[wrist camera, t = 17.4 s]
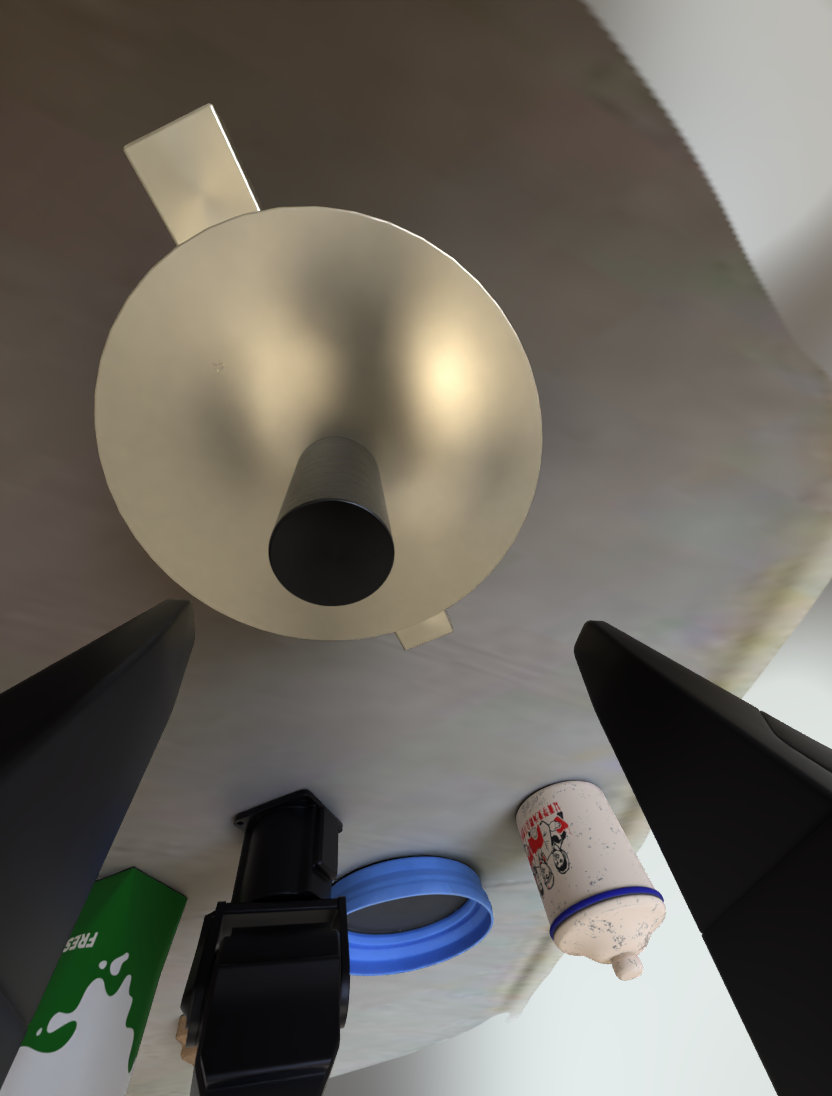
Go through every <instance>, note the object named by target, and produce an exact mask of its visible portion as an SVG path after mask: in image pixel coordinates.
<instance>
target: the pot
mask: <svg viewBox="0 0 832 1096" xmlns="http://www.w3.org/2000/svg"><path fill="white" fill-rule="evenodd" d="M123 150H124V153H125V155H126V157H127V159H128V160H129V162H130V164H131V166H132V168H133V169H134V171H135V173H136V175H137V176H138V178H139V180H140V182H141V183H142V185H143V187H144V189H145V191H146V192H147V194H148V196H149V198H150V199H151V201H152V203H153V205H154V207H155V208H156V210H157V212H158V214H159V215H160V217H161V219H162V221H163V222H164V224H165V226H166V228H167V230H168V231H169V233H170V235H171V237H172V238H173V240H174V242H175V244H176V246H178V245H179V244H181V243H183V242H184V241H186V240H188V239H189V238H191V237H193V236H194V235H196V234H198V233H199V232H201V231H203V230H204V229H206V228H208V227H210V226H213V225H215V224H218V223H221V222H223V221H226V220H228V219H231V218H234V217H236V216H239V215H241V214H245V213H251V212H256V211H261V210H264V209H263V207H262V205H261V203H260V200H259V198H258V196H257V194H256V192H255V189H254V187H253V185H252V183H251V181H250V178H249V176H248V174H247V172H246V170H245V167H244V165H243V163H242V161H241V159H240V156H239V154H238V152H237V150H236V148H235V145H234V143H233V141H232V139H231V137H230V134H229V132H228V130H227V128H226V126H225V123H224V121H223V120H222V118H221V117H220V115H219V113H218V112H217V110H216V109H215V107H214V106H213V105H212V104H209V103H208V104H206V105H204V106H202V107H200V108H198V109H196V110H194V111H192V112H190V113H188V114H186V115H184V116H182V117H180V118H178V119H176V120H174V121H172V122H170V123H169V124H167V125H165V126H163V127H161V128H159V129H157V130H155V131H153V132H151V133H149V134H147V135H145V136H143V137H141V138H139V139H137V140H135V141H133V142H131V143H129V144H127V145H125V146H124V147H123ZM451 632H453V627H452V624H451V621H450V618H449V616H448V613H447V611H446V610H444V611H442V612H441V613H439V614H437V615H436V616H434V617H431V618H429V619H427V620H425V621H423V622H421V623H419V624H416V625H414V626H411V627H408V628H405V629H402V630H400V631H397V632H395V634H396V636H397V638H398V639H399V641H400V643H401V645H402V646H403V648H404V650H408V649H411V648H413V647H416V646H418V645H421V644H423V643H426V642H428V641H431V640H433V639H436V638H438V637H441V636H443V635H446V634H448V633H451Z"/></svg>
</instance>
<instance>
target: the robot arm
mask: <svg viewBox="0 0 832 1096" xmlns="http://www.w3.org/2000/svg"><path fill="white" fill-rule="evenodd" d="M194 640H195V622H194V612H193V604H192V602H191V601H190V600H188V599H167V600H165V601H163V602H161V603H160V604H158V605H156V606H154V607H153V608H151V609H149V610H147V611H146V612H144V613H142V614H140V615H139V616H137V617H135V618H133V619H131V620H130V621H128V622H126V623H124V624H123V625H121V626H119V627H117V628H116V629H114V630H112V631H110V632H109V633H107V634H105V635H103V636H101V637H100V638H98V639H96V640H94V641H93V642H91V643H89V644H87V645H86V646H84V647H82V648H80V649H79V650H77V651H75V652H73V653H72V654H70V655H68V656H66V657H64V658H63V659H61V660H59V661H57V662H56V663H54V664H52V665H50V666H49V667H47V668H45V669H43V670H42V671H40V672H38V673H36V674H34V675H33V676H31V677H29V678H27V679H26V680H24V681H22V682H20V683H19V684H17V685H15V686H13V687H12V688H10V689H8V690H6V691H5V692H3V693H1V694H0V1090H1V1087H2V1085H3V1083H4V1081H5V1079H6V1077H7V1074H8V1072H9V1070H10V1068H11V1066H12V1063H13V1061H14V1059H15V1057H16V1055H17V1052H18V1050H19V1048H20V1046H21V1044H22V1041H23V1039H24V1037H25V1035H26V1033H27V1030H28V1027H27V1025H28V1024H30V1022H31V1021H32V1019H33V1016H34V1014H35V1012H36V1010H37V1008H38V1005H39V1003H40V1001H41V999H42V997H43V994H44V992H45V990H46V988H47V986H48V983H49V981H50V979H51V977H52V975H53V972H54V970H55V968H56V966H57V964H58V961H59V959H60V957H61V955H62V953H63V950H64V948H65V946H66V944H67V942H68V939H69V937H70V935H71V933H72V931H73V929H74V926H75V924H76V922H77V920H78V918H79V915H80V913H81V911H82V909H83V907H84V904H85V902H86V900H87V898H88V896H89V893H90V891H91V889H92V887H93V885H94V882H95V880H96V878H97V876H98V874H99V871H100V869H101V867H102V865H103V863H104V860H105V858H106V856H107V854H108V852H109V849H110V847H111V845H112V843H113V841H114V838H115V836H116V834H117V832H118V830H119V827H120V825H121V823H122V821H123V819H124V816H125V814H126V812H127V810H128V808H129V805H130V803H131V801H132V799H133V797H134V794H135V792H136V790H137V788H138V786H139V783H140V781H141V779H142V777H143V775H144V773H145V770H146V768H147V766H148V764H149V762H150V759H151V757H152V755H153V753H154V751H155V748H156V746H157V744H158V742H159V740H160V737H161V735H162V733H163V731H164V729H165V726H166V724H167V722H168V720H169V717H170V715H171V712H172V710H173V707H174V704H175V701H176V698H177V695H178V692H179V689H180V685H181V682H182V679H183V676H184V673H185V670H186V666H187V663H188V660H189V657H190V654H191V651H192V648H193V644H194ZM574 655H575V658H576V661H577V664H578V666H579V669H580V672H581V675H582V677H583V680H584V683H585V686H586V688H587V691H588V694H589V696H590V699H591V702H592V704H593V707H594V710H595V712H596V714H597V716H598V719H599V721H600V723H601V725H602V727H603V729H604V731H605V734H606V736H607V738H608V740H609V742H610V744H611V746H612V748H613V750H614V752H615V754H616V757H617V759H618V761H619V763H620V765H621V767H622V769H623V771H624V773H625V775H626V778H627V780H628V782H629V784H630V786H631V788H632V790H633V792H634V794H635V796H636V799H637V801H638V803H639V805H640V807H641V809H642V811H643V813H644V815H645V817H646V819H647V822H648V824H649V826H650V828H651V830H652V832H653V834H654V836H655V838H656V840H657V842H658V844H659V847H660V849H661V851H662V853H663V855H664V857H665V859H666V861H667V863H668V866H669V867H670V870H671V872H672V874H673V876H674V878H675V880H676V882H677V884H678V886H679V889H680V891H681V893H682V895H683V897H684V899H685V901H686V903H687V905H688V907H689V910H690V912H691V914H692V916H693V918H694V920H695V922H696V924H697V926H698V928H699V931H700V932H701V933H703V934H702V937H703V940H704V942H705V944H706V945H707V948H708V950H709V952H710V954H711V956H712V959H713V961H714V963H715V965H716V967H717V969H718V971H719V973H720V975H721V977H722V979H723V981H724V984H725V986H726V988H727V990H728V992H729V994H730V996H731V998H732V1001H733V1003H734V1005H735V1007H736V1009H737V1011H738V1013H739V1015H740V1017H741V1019H742V1022H743V1024H744V1025H745V1028H746V1030H747V1032H748V1034H749V1036H750V1038H751V1040H752V1043H753V1045H754V1047H755V1049H756V1051H757V1053H758V1055H759V1057H760V1059H761V1061H762V1063H763V1066H764V1068H765V1070H766V1072H767V1074H768V1076H769V1078H770V1080H771V1082H772V1084H773V1087H774V1089H775V1091H776V1093H777V1095H778V1096H832V749H830V748H828V747H826V746H824V745H823V744H821V743H819V742H817V741H815V740H813V739H811V738H810V737H808V736H806V735H804V734H802V733H801V732H799V731H797V730H795V729H793V728H791V727H790V726H788V725H786V724H784V723H783V722H780V721H779V720H777V719H775V718H774V717H772V716H770V715H768V714H767V713H765V712H763V711H759V710H758V709H757V708H756V707H754V706H752V705H751V704H749V703H747V702H745V701H744V700H742V699H740V698H738V697H737V696H735V695H733V694H731V693H730V692H728V691H726V690H724V689H722V688H721V687H719V686H717V685H715V684H714V683H712V682H710V681H708V680H707V679H705V678H703V677H701V676H700V675H698V674H696V673H694V672H692V671H691V670H689V669H687V668H685V667H684V666H682V665H680V664H678V663H677V662H675V661H673V660H671V659H670V658H668V657H666V656H664V655H663V654H661V653H659V652H657V651H655V650H654V649H652V648H650V647H648V646H647V645H645V644H643V643H641V642H640V641H638V640H636V639H634V638H633V637H631V636H629V635H627V634H626V633H624V632H622V631H620V630H618V629H617V628H615V627H613V626H611V625H610V624H608V623H606V622H604V621H591V620H590V621H587V622H586V623H585V624H584V626H583V628H582V630H581V632H580V634H579V637H578V639H577V641H576V643H575V646H574ZM234 825H235V826H236V827H238V828H239V829H240V830H241V831H243V832H244V833H245V836H244V841H243V846H242V851H241V856H240V861H239V866H238V871H237V875H236V880H235V885H234V890H233V895H232V900H231V903H226V901H223V902H218V903H217V907H216V911H213V912H212V913H210V914H207V915H205V918H204V922H203V926H202V930H201V934H200V938H199V942H198V946H197V950H196V953H195V957H194V960H193V963H192V967H191V970H190V974H189V977H188V980H187V984H186V987H185V990H184V994H183V998H182V1002H181V1007H180V1008H181V1010H182V1012H183V1014H184V1015H185V1017H186V1019H187V1021H186V1027H185V1029H188V1033H187V1038H186V1045H185V1048H189V1047H197V1046H198V1048H197V1053H196V1058H195V1065H194V1071H193V1078H192V1085H191V1092H190V1096H323V1094H324V1091H325V1088H326V1085H327V1082H328V1079H329V1076H330V1073H331V1070H332V1067H333V1064H334V1061H335V1058H336V1055H337V1052H338V1049H339V1043H340V1028H343V1027H344V1026H345V1023H346V1018H347V1012H348V1003H349V990H350V957H349V941H348V925H347V909H346V896H338V898H331V885H332V880H334V879H335V878H336V876H337V867H338V833H340V832H342V823H341V822H340V821H339V820H338V819H337V818H336V817H335V816H334V815H333V814H332V813H331V812H330V811H329V810H328V809H327V808H326V807H325V806H324V805H323V804H322V803H321V802H320V801H319V800H318V799H317V798H316V797H315V796H314V795H313V794H312V793H311V792H310V791H308V790H302V791H299V792H296V793H294V794H291V795H289V796H286V797H283V798H281V799H278V800H276V801H273V802H270V803H268V804H265V805H263V806H260V807H257V808H255V809H252V810H250V811H247V812H244V813H242V814H239V815H237V816H236V817H235V820H234Z"/></svg>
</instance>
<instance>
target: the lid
mask: <svg viewBox="0 0 832 1096" xmlns="http://www.w3.org/2000/svg"><path fill="white" fill-rule="evenodd" d="M94 425H95V432H96V439H97V447H98V454H99V458H100V461H101V465H102V468H103V472H104V475H105V479H106V482H107V485H108V487H109V490H110V492H111V494H112V497H113V499H114V501H115V503H116V506H117V508H118V510H119V512H120V514H121V516H122V517H123V519H124V521H125V522H126V524H127V526H128V527H129V529H130V530H131V532H132V534H133V535H134V537H135V538H136V540H137V541H138V542H139V543H140V545H141V546H142V547H143V549H144V550H145V551H146V552H147V554H148V555H149V556H150V557H151V559H152V560H153V561H154V562H155V563H156V564H157V565H158V566H159V567H160V568H161V569H162V570H163V571H164V572H165V573H166V574H167V575H168V576H169V577H170V578H171V579H172V580H174V581H175V582H176V583H177V584H178V585H180V586H181V587H182V588H183V589H185V590H186V591H187V592H188V593H190V594H191V595H192V596H194V597H195V598H197V599H198V600H200V601H202V602H203V603H205V604H206V605H208V606H209V607H211V608H212V609H214V610H216V611H218V612H220V613H222V614H224V615H226V616H228V617H230V618H232V619H234V620H236V621H239V622H241V623H244V624H246V625H249V626H252V627H254V628H257V629H260V630H263V631H267V632H271V633H274V634H278V635H282V636H288V637H294V638H300V639H306V640H321V641H343V640H356V639H364V638H371V637H376V636H381V635H385V634H389V633H393V632H397V631H400V630H402V629H405V628H408V627H411V626H414V625H416V624H419V623H421V622H423V621H425V620H427V619H429V618H431V617H434V616H436V615H437V614H439V613H441V612H442V611H444V610H446V609H447V608H449V607H451V606H452V605H454V604H455V603H457V602H458V601H459V600H461V599H462V598H463V597H465V596H466V595H467V594H468V593H470V592H471V591H472V590H473V589H474V588H475V587H477V586H478V585H479V584H480V583H481V582H482V581H483V580H484V579H485V578H486V577H487V576H488V575H489V574H490V573H491V571H492V570H493V569H494V568H495V567H496V566H497V564H498V563H499V562H500V561H501V560H502V558H503V557H504V555H505V554H506V552H507V551H508V549H509V548H510V546H511V545H512V543H513V542H514V540H515V539H516V537H517V535H518V533H519V531H520V529H521V527H522V525H523V523H524V521H525V519H526V516H527V514H528V511H529V508H530V505H531V503H532V500H533V497H534V494H535V489H536V485H537V481H538V477H539V472H540V464H541V454H542V417H541V410H540V404H539V397H538V390H537V387H536V384H535V380H534V377H533V373H532V370H531V366H530V363H529V360H528V358H527V356H526V354H525V351H524V349H523V347H522V345H521V342H520V340H519V338H518V336H517V334H516V332H515V330H514V329H513V327H512V325H511V324H510V322H509V321H508V319H507V317H506V316H505V314H504V312H503V311H502V309H501V308H500V306H499V305H498V304H497V303H496V301H495V300H494V299H493V298H492V296H491V295H490V294H489V293H488V292H487V290H486V289H485V288H484V287H483V286H482V284H481V283H480V282H479V281H478V280H477V279H476V278H475V277H474V276H473V275H472V274H470V273H469V272H468V271H467V270H466V269H465V268H464V267H463V266H462V265H461V264H460V263H458V262H457V261H456V260H455V259H454V258H453V257H451V256H450V255H448V254H447V253H445V252H444V251H443V250H441V249H440V248H438V247H437V246H435V245H434V244H432V243H431V242H429V241H428V240H426V239H425V238H423V237H421V236H419V235H417V234H415V233H413V232H411V231H409V230H407V229H404V228H402V227H400V226H398V225H396V224H394V223H392V222H389V221H386V220H383V219H380V218H376V217H373V216H370V215H366V214H363V213H360V212H356V211H351V210H344V209H337V208H329V207H322V206H292V207H276V208H271V209H266V210H261V211H256V212H251V213H245V214H241V215H239V216H236V217H234V218H231V219H228V220H226V221H223V222H221V223H218V224H215V225H213V226H210V227H208V228H206V229H204V230H203V231H201V232H199V233H198V234H196V235H194V236H193V237H191V238H189V239H188V240H186V241H184V242H183V243H181V244H179V245H178V246H176V247H175V248H174V249H173V250H172V251H170V252H169V253H168V254H167V255H166V256H165V257H164V258H162V259H161V260H160V261H159V262H158V263H157V264H156V265H154V266H153V267H152V268H151V269H150V270H149V271H148V272H147V274H146V275H145V276H144V277H143V279H142V280H141V281H140V282H139V284H138V285H137V286H136V287H135V289H134V290H133V291H132V292H131V294H130V295H129V296H128V297H127V299H126V301H125V303H124V305H123V306H122V308H121V310H120V312H119V314H118V316H117V317H116V319H115V321H114V323H113V325H112V327H111V329H110V332H109V335H108V338H107V341H106V344H105V347H104V349H103V352H102V355H101V358H100V363H99V369H98V375H97V381H96V387H95V408H94Z"/></svg>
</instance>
